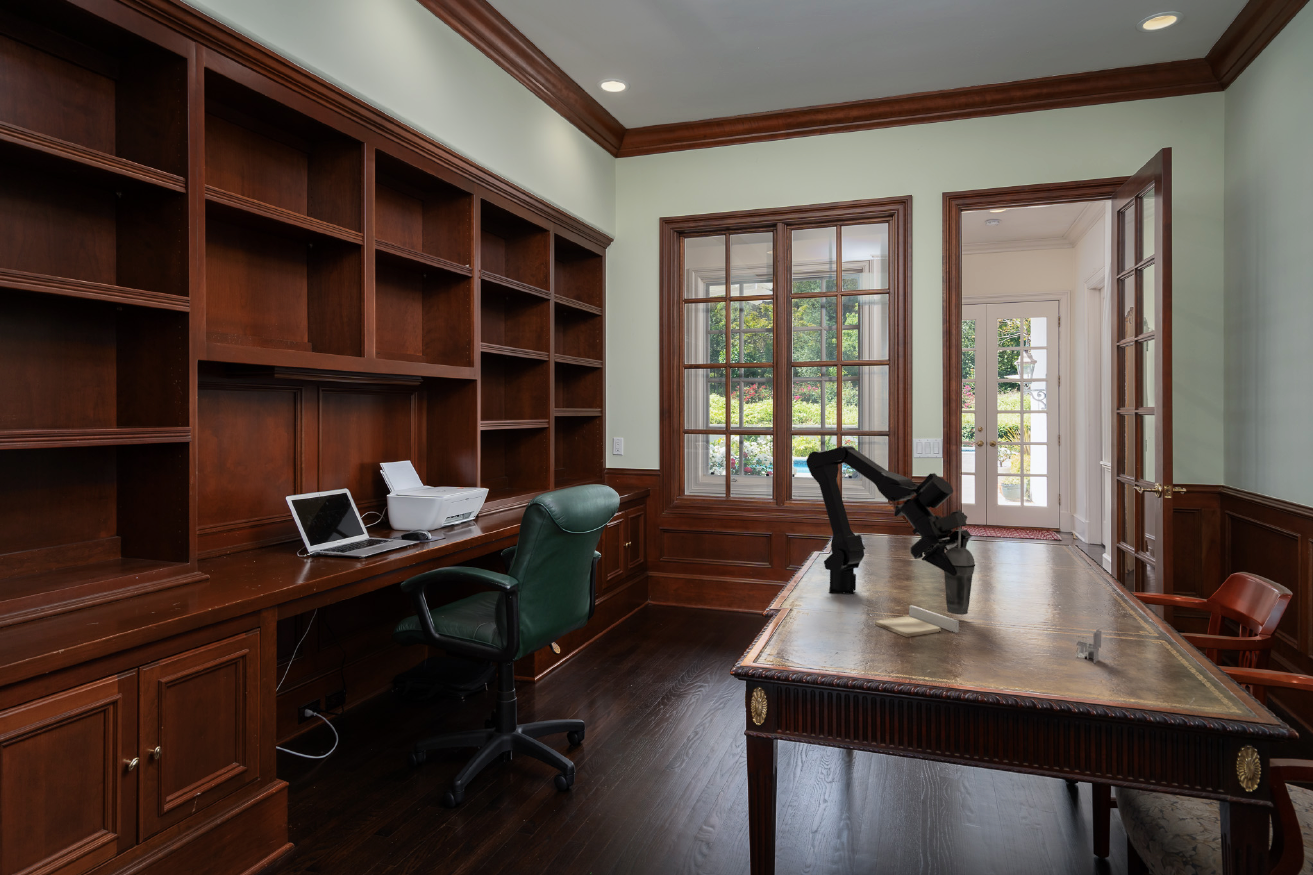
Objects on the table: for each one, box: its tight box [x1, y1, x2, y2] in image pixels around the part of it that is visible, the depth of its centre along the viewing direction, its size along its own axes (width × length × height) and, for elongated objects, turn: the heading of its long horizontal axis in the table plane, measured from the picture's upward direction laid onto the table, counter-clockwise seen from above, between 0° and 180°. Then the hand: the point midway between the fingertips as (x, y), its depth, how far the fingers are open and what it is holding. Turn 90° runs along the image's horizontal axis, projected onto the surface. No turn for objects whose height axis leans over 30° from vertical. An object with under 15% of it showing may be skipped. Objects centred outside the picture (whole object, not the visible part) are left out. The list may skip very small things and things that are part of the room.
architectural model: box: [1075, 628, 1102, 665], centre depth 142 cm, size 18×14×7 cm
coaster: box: [874, 615, 942, 638], centre depth 163 cm, size 10×10×1 cm
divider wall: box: [908, 605, 960, 634], centre depth 166 cm, size 14×1×2 cm, turn 25°
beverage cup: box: [943, 526, 976, 616], centre depth 169 cm, size 7×7×20 cm
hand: (964, 572), depth 168 cm, fingers closed on beverage cup, 7 cm apart
